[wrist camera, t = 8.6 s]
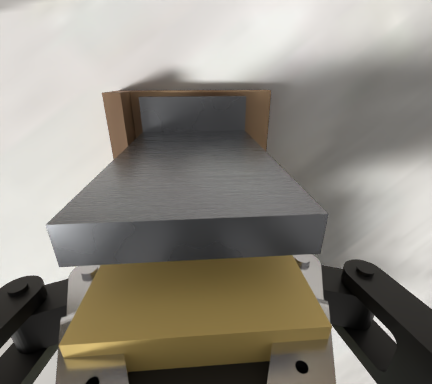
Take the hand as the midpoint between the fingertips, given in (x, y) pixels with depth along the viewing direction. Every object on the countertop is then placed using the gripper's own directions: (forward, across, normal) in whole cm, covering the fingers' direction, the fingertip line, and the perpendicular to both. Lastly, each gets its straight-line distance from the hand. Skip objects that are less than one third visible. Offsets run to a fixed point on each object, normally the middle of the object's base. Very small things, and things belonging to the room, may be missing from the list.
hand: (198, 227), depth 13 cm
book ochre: (+3, 0, 0) cm, 3 cm away
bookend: (+3, 0, -4) cm, 5 cm away
